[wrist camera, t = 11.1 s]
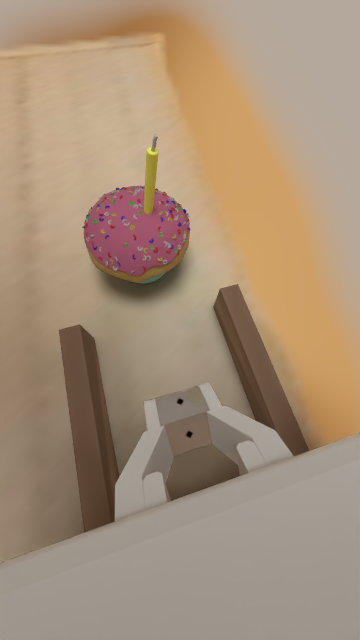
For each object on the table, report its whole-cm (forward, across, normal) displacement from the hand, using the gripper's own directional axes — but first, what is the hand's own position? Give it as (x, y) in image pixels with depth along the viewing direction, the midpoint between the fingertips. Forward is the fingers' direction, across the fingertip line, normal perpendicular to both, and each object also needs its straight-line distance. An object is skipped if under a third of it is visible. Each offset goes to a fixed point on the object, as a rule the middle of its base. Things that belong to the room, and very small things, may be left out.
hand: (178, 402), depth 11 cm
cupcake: (+16, -1, -3) cm, 17 cm away
